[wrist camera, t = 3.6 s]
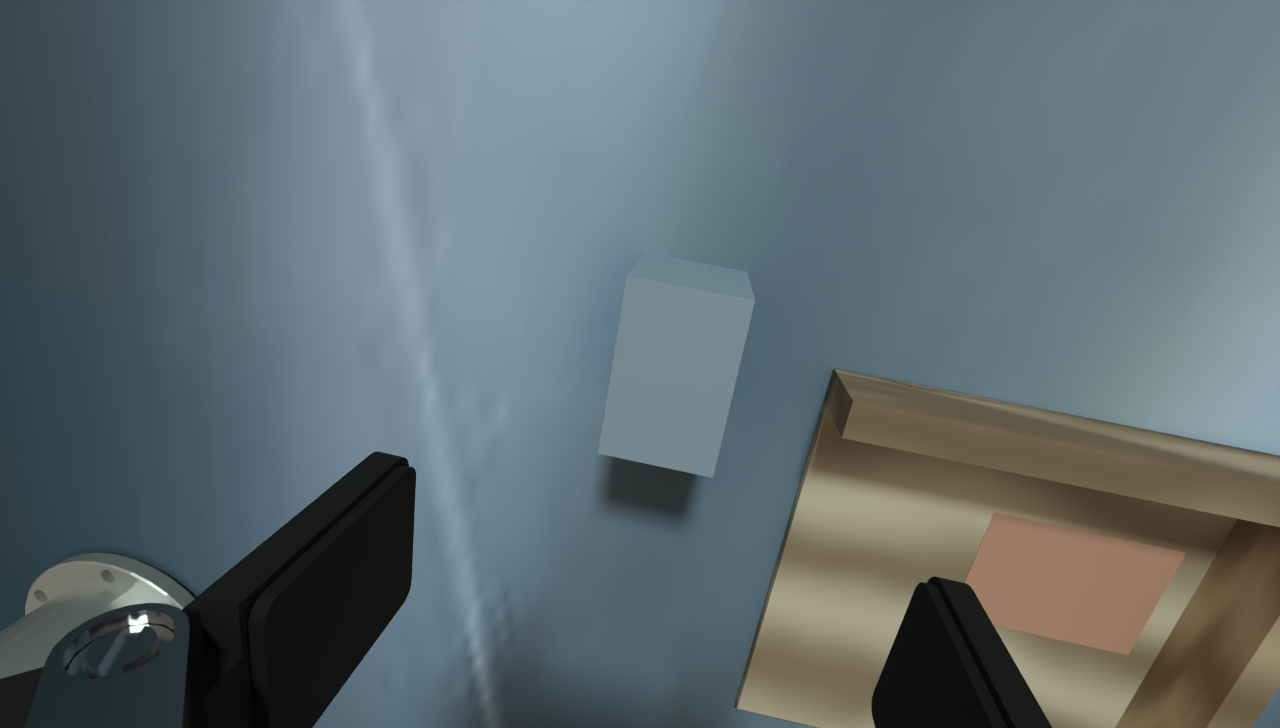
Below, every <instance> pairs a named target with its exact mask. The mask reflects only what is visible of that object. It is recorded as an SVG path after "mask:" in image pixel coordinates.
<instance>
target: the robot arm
mask: <svg viewBox="0 0 1280 728" xmlns="http://www.w3.org/2000/svg"><path fill="white" fill-rule="evenodd" d="M415 485H416V471H415V469H414V468H413V467H409V463H408V461H407V459H406V458H404V457H400V456H395V455H391V454H386V453H382V452H374V453H372V454H370V455H369V456H368V457H367V458H366V459H364V460H363V461H362V462H361V463H359V464H358V465H357V466H356V467H355V468H353V469H352V470H351V471H350V472H348V473H347V474H346V475H345V476H344V477H342V478H341V479H340V480H339V481H337V482H336V483H335V484H334V485H333V486H331V487H330V488H329V489H328V490H327V491H325V492H324V493H323V494H322V495H320V496H319V497H318V498H317V499H316V500H314V501H313V502H312V503H311V504H309V505H308V506H307V507H306V508H305V509H303V510H302V511H301V512H300V513H298V514H297V515H296V516H295V517H294V518H292V519H291V520H290V521H289V522H288V523H286V524H285V525H284V526H283V527H281V528H280V529H279V530H278V531H277V532H275V533H274V534H273V535H272V536H270V537H269V538H268V539H267V540H266V541H264V542H263V543H262V544H261V545H259V546H258V547H257V548H256V549H255V550H253V551H252V552H251V553H250V554H249V555H247V556H246V557H245V558H244V559H242V560H241V561H240V562H239V563H238V564H236V565H235V566H234V567H233V568H231V569H230V570H229V571H228V572H227V573H225V574H224V575H223V576H222V577H220V578H219V579H218V580H217V581H216V582H214V583H213V584H212V585H211V586H210V587H208V588H207V589H206V590H205V591H203V592H202V593H201V594H200V595H199V596H198V597H196V598H194V597H193V596H192V595H191V594H190V593H189V592H188V591H187V590H186V589H185V588H183V587H182V586H181V585H180V584H178V583H177V582H176V581H175V580H173V579H172V578H171V577H169V576H167V575H166V574H164V573H162V572H161V571H159V570H157V569H156V568H154V567H152V566H149V565H147V564H145V563H142V562H140V561H138V560H135V559H131V558H128V557H124V556H121V555H116V554H108V553H98V552H97V553H85V554H79V555H76V556H73V557H69V558H67V559H65V560H63V561H62V562H60V563H58V564H56V565H55V566H53V567H51V568H49V569H48V570H46V571H45V572H44V573H43V574H41V575H40V576H39V577H38V578H37V579H36V580H35V582H34V583H33V584H32V586H31V588H30V590H29V593H28V597H27V600H26V606H25V616H24V617H23V618H21V619H20V620H18V621H16V622H15V623H13V624H12V625H10V626H9V627H7V628H6V629H4V630H3V631H1V632H0V728H312V727H313V726H314V725H315V723H316V722H317V721H318V719H319V718H320V716H321V715H322V714H323V712H324V711H325V710H326V708H327V707H328V705H329V704H330V703H331V701H332V700H333V699H334V697H335V696H336V695H337V693H338V692H339V690H340V689H341V688H342V686H343V685H344V684H345V682H346V681H347V680H348V678H349V677H350V675H351V674H352V673H353V671H354V670H355V669H356V667H357V666H358V665H359V663H360V662H361V660H362V659H363V658H364V656H365V655H366V654H367V652H368V651H369V650H370V648H371V647H372V645H373V644H374V643H375V641H376V640H377V639H378V637H379V636H380V635H381V633H382V632H383V630H384V629H385V628H386V626H387V625H388V624H389V622H390V621H391V620H392V618H393V617H394V615H395V614H396V613H397V611H398V610H399V609H400V607H401V606H402V605H403V603H404V601H405V600H406V598H407V596H408V593H409V590H410V587H411V580H412V556H413V533H414V509H415ZM871 709H872V717H873V721H874V725H875V728H1052V726H1051V724H1050V723H1049V721H1048V719H1047V717H1046V716H1045V714H1044V712H1043V710H1042V709H1041V707H1040V705H1039V704H1038V702H1037V700H1036V698H1035V697H1034V695H1033V693H1032V691H1031V690H1030V688H1029V686H1028V684H1027V683H1026V681H1025V679H1024V678H1023V676H1022V674H1021V672H1020V671H1019V669H1018V667H1017V665H1016V664H1015V662H1014V660H1013V658H1012V657H1011V655H1010V653H1009V651H1008V650H1007V648H1006V646H1005V645H1004V643H1003V641H1002V639H1001V638H1000V636H999V634H998V632H997V631H996V629H995V627H994V625H993V624H992V622H991V620H990V618H989V617H988V615H987V613H986V612H985V610H984V608H983V606H982V605H981V603H980V601H979V599H978V598H977V596H976V594H975V592H974V591H973V589H972V588H971V587H970V585H968V584H966V583H962V582H958V581H953V580H949V579H945V578H940V577H936V576H934V577H931V578H930V579H929V580H928V581H927V583H924V582H920V583H919V584H918V585H917V586H916V588H915V590H914V593H913V595H912V598H911V600H910V603H909V605H908V608H907V610H906V613H905V615H904V618H903V620H902V623H901V625H900V628H899V630H898V633H897V635H896V638H895V640H894V642H893V645H892V647H891V650H890V652H889V655H888V657H887V660H886V662H885V665H884V667H883V670H882V672H881V675H880V677H879V680H878V682H877V685H876V687H875V690H874V692H873V696H872V704H871Z"/></svg>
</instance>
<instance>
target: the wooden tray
mask: <svg viewBox="0 0 1280 728" xmlns="http://www.w3.org/2000/svg"><path fill="white" fill-rule="evenodd" d="M934 576H936V577H940V578H945V579H949V580H953V581H958V582H962V583H966V584H968V585H970V587H971V588H972V589H973V591H974V592H975V594H976V596H977V598H978V599H979V601H980V603H981V605H982V606H983V608H984V610H985V612H986V613H987V615H988V617H989V618H990V620H991V622H992V624H993V625H994V627H995V629H996V631H997V632H998V634H999V636H1000V638H1001V639H1002V641H1003V643H1004V645H1005V646H1006V648H1007V650H1008V651H1009V653H1010V655H1011V657H1012V658H1013V660H1014V662H1015V664H1016V665H1017V667H1018V669H1019V671H1020V672H1021V674H1022V676H1023V678H1024V679H1025V681H1026V683H1027V684H1028V686H1029V688H1030V690H1031V691H1032V693H1033V695H1034V697H1035V698H1036V700H1037V702H1038V704H1039V705H1040V707H1041V709H1042V710H1043V712H1044V714H1045V716H1046V717H1047V719H1048V721H1049V723H1050V724H1051V726H1052V728H1251V727H1252V726H1253V724H1254V723H1255V721H1256V720H1257V718H1258V717H1259V715H1260V714H1261V712H1262V711H1263V710H1264V708H1265V707H1266V705H1267V704H1268V702H1269V701H1270V699H1271V698H1272V697H1273V695H1274V694H1275V692H1276V691H1277V689H1278V688H1279V686H1280V456H1277V455H1272V454H1267V453H1262V452H1257V451H1252V450H1247V449H1242V448H1237V447H1232V446H1227V445H1222V444H1217V443H1211V442H1206V441H1201V440H1196V439H1191V438H1186V437H1181V436H1176V435H1171V434H1166V433H1161V432H1156V431H1150V430H1145V429H1140V428H1135V427H1130V426H1125V425H1120V424H1115V423H1110V422H1105V421H1100V420H1095V419H1090V418H1084V417H1079V416H1074V415H1069V414H1064V413H1059V412H1054V411H1049V410H1044V409H1039V408H1034V407H1029V406H1024V405H1018V404H1013V403H1008V402H1003V401H998V400H993V399H988V398H983V397H978V396H973V395H968V394H963V393H957V392H952V391H947V390H942V389H937V388H932V387H927V386H922V385H917V384H912V383H907V382H902V381H897V380H891V379H886V378H881V377H876V376H871V375H866V374H861V373H856V372H851V371H846V370H841V369H836V368H834V370H833V373H832V377H831V380H830V383H829V387H828V390H827V394H826V397H825V400H824V404H823V407H822V411H821V414H820V417H819V421H818V424H817V428H816V431H815V434H814V438H813V441H812V445H811V448H810V451H809V455H808V458H807V462H806V465H805V468H804V472H803V475H802V479H801V482H800V485H799V489H798V492H797V496H796V499H795V502H794V506H793V509H792V513H791V516H790V519H789V523H788V526H787V530H786V533H785V536H784V540H783V543H782V547H781V550H780V553H779V557H778V560H777V564H776V567H775V570H774V574H773V577H772V581H771V584H770V587H769V591H768V594H767V598H766V601H765V604H764V608H763V611H762V615H761V618H760V621H759V625H758V628H757V632H756V635H755V638H754V642H753V645H752V649H751V652H750V655H749V659H748V662H747V666H746V669H745V672H744V676H743V679H742V683H741V686H740V689H739V693H738V696H737V709H741V710H746V711H750V712H754V713H758V714H763V715H767V716H771V717H775V718H780V719H784V720H788V721H792V722H797V723H801V724H805V725H810V726H814V727H818V728H875V725H874V721H873V717H872V709H871V704H872V696H873V692H874V690H875V687H876V685H877V682H878V680H879V677H880V675H881V672H882V670H883V667H884V665H885V662H886V660H887V657H888V655H889V652H890V650H891V647H892V645H893V642H894V640H895V638H896V635H897V633H898V630H899V628H900V625H901V623H902V620H903V618H904V615H905V613H906V610H907V608H908V605H909V603H910V600H911V598H912V595H913V593H914V590H915V588H916V586H917V585H918V584H919V583H920V582H924V583H927V581H928V580H929V579H930V578H931V577H934Z"/></svg>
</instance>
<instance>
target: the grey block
mask: <svg viewBox="0 0 1280 728" xmlns="http://www.w3.org/2000/svg"><path fill="white" fill-rule="evenodd" d="M754 303H755V298H754V295H753V291H752V288H751V284H750V281H749V277H748V274H747V272H744V271H739V270H734V269H728V268H723V267H718V266H712V265H707V264H702V263H697V262H691V261H686V260H681V259H675V258H670V257H665V256H660V255H654V254H649V253H645V255H644V256H643V257H642V258H641V259H640V261H639V262H638V263H637V264H636V265H635V267H634V268H633V269H632V270H631V271H630V272H629V274H628V275H627V277H626V283H625V289H624V295H623V302H622V308H621V314H620V320H619V326H618V332H617V339H616V345H615V351H614V357H613V363H612V369H611V376H610V382H609V388H608V394H607V400H606V406H605V413H604V419H603V425H602V431H601V437H600V443H599V450H598V454H602V455H607V456H612V457H617V458H621V459H626V460H631V461H636V462H640V463H645V464H650V465H654V466H659V467H664V468H669V469H673V470H678V471H683V472H688V473H692V474H697V475H702V476H706V477H711V478H713V476H714V471H715V467H716V463H717V459H718V455H719V450H720V446H721V442H722V438H723V434H724V429H725V425H726V421H727V417H728V413H729V408H730V404H731V400H732V396H733V392H734V387H735V383H736V379H737V375H738V371H739V366H740V362H741V358H742V354H743V349H744V345H745V341H746V337H747V333H748V328H749V324H750V320H751V316H752V312H753V307H754Z"/></svg>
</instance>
